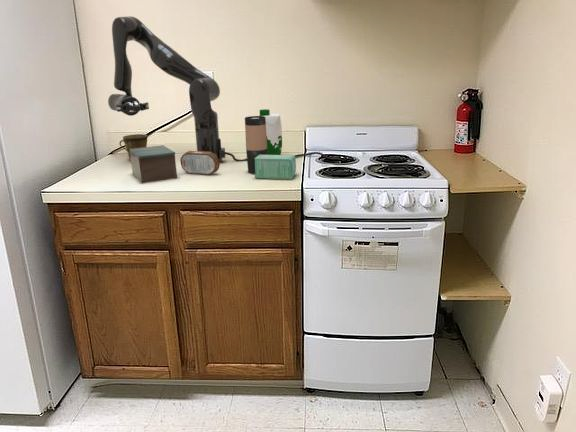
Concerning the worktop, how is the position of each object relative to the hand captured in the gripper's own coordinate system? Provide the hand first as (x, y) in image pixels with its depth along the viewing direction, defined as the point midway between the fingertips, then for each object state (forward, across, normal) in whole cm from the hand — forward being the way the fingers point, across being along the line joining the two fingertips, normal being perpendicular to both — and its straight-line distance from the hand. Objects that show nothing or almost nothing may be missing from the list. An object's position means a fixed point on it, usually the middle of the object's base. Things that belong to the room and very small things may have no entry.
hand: (137, 108), depth 187 cm
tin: (+21, +16, +24) cm, 35 cm away
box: (+41, +37, +24) cm, 60 cm away
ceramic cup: (-20, 0, +23) cm, 30 cm away
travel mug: (+30, +35, +24) cm, 52 cm away
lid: (+15, 0, +14) cm, 21 cm away
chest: (+15, 0, +23) cm, 27 cm away
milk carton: (+12, +49, +24) cm, 56 cm away
